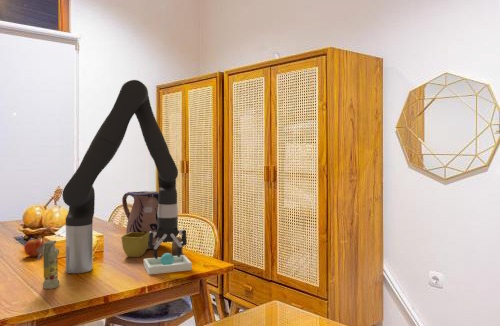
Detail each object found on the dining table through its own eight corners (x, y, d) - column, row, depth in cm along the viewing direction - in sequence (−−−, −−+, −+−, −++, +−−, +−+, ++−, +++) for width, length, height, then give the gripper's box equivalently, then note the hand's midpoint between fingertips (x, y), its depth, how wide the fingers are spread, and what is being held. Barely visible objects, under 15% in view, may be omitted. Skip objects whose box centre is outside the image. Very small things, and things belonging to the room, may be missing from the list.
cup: (171, 259, 172) (171, 240, 172) (168, 255, 178) (168, 237, 177) (185, 257, 174) (186, 239, 174) (182, 254, 180) (182, 236, 179)
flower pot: (140, 259, 171) (140, 237, 171) (120, 257, 173) (120, 236, 172) (149, 253, 180) (150, 233, 179) (131, 252, 181) (131, 231, 181)
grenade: (61, 283, 141) (60, 239, 140) (52, 291, 134) (52, 244, 133) (42, 283, 140) (41, 239, 140) (32, 290, 134) (31, 244, 133)
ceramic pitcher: (157, 253, 181) (157, 195, 179) (111, 250, 184) (111, 193, 183) (171, 243, 198) (171, 190, 197) (129, 241, 201) (129, 189, 200)
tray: (148, 274, 152) (148, 267, 152) (143, 265, 163) (143, 258, 163) (191, 269, 158) (191, 263, 158) (184, 261, 169) (184, 255, 169)
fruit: (20, 257, 171) (20, 238, 170) (34, 253, 177) (33, 234, 177) (34, 259, 169) (34, 239, 168) (47, 255, 175) (47, 236, 175)
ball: (162, 268, 157) (162, 255, 157) (159, 264, 162) (159, 252, 161) (175, 267, 159) (175, 254, 159) (172, 263, 163) (172, 251, 163)
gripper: (150, 218, 153) (150, 262, 154) (188, 216, 159) (188, 258, 159) (147, 214, 160) (146, 256, 161) (183, 212, 166) (183, 253, 166)
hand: (167, 257), depth 160 cm, fingers open, 8 cm apart
